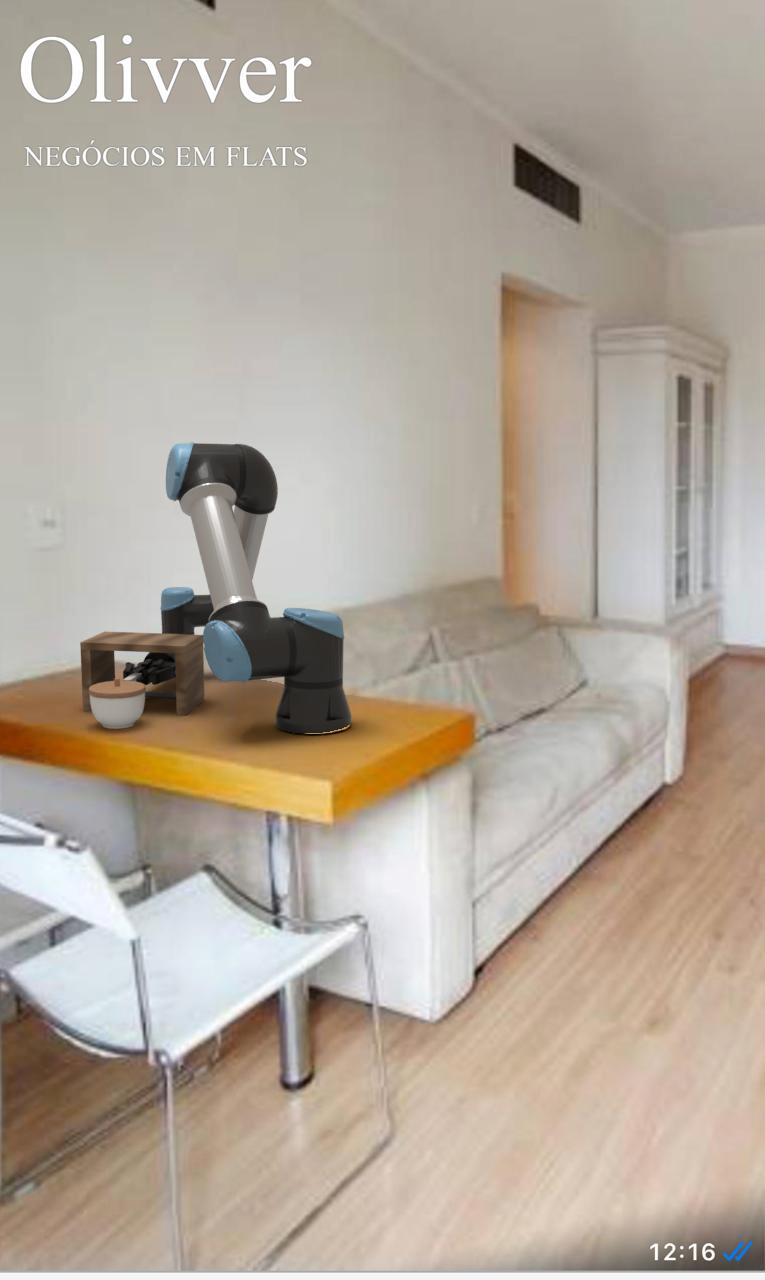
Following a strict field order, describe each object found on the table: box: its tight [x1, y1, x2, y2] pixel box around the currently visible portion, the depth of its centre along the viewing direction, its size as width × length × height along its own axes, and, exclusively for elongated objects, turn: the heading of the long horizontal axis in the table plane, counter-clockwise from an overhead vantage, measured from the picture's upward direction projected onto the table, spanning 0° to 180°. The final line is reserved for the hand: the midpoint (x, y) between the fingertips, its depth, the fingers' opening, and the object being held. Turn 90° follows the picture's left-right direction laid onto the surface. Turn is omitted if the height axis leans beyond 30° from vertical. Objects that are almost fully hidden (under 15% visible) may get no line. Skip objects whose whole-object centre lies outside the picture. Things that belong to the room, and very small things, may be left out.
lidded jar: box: [89, 677, 146, 730], centre depth 189 cm, size 11×11×9 cm
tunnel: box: [79, 631, 205, 716], centre depth 204 cm, size 22×13×14 cm, turn 84°
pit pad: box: [145, 690, 176, 700], centre depth 213 cm, size 18×4×1 cm, turn 84°
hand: (126, 686), depth 194 cm, fingers closed
